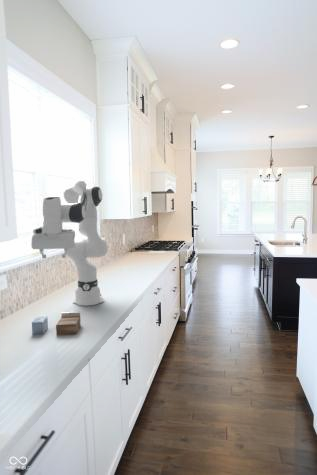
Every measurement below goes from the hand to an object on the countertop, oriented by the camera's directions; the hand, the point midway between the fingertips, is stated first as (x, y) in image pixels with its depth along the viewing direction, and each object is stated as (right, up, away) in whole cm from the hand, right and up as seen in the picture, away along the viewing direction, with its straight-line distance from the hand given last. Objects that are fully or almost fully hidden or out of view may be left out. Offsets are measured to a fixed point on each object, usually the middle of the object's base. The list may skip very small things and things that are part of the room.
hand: (54, 258), depth 162 cm
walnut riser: (+8, -35, -2) cm, 35 cm away
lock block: (-6, -35, -3) cm, 36 cm away
